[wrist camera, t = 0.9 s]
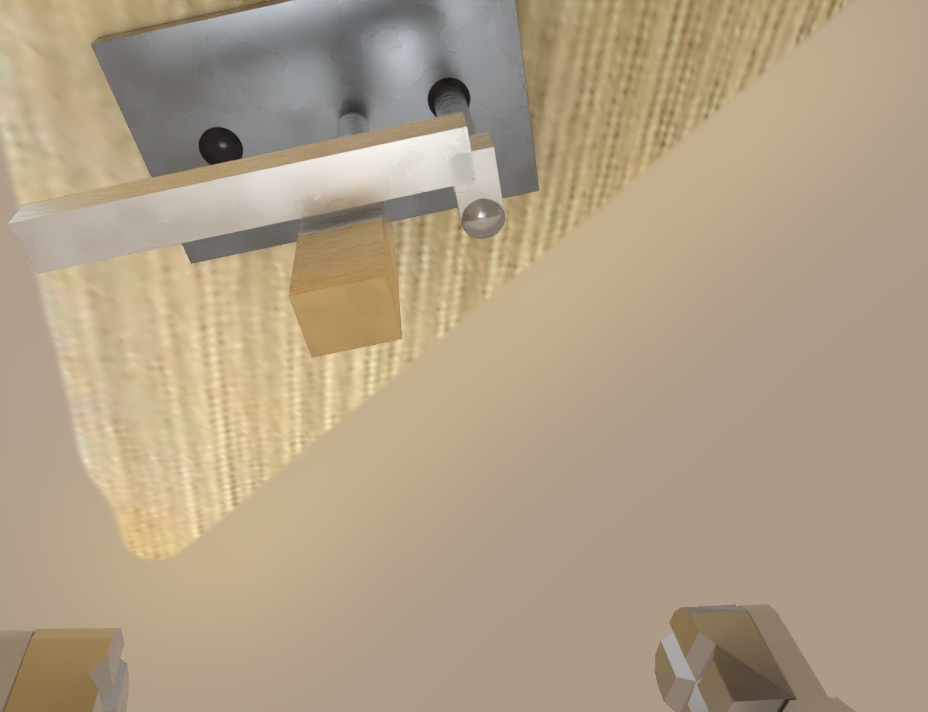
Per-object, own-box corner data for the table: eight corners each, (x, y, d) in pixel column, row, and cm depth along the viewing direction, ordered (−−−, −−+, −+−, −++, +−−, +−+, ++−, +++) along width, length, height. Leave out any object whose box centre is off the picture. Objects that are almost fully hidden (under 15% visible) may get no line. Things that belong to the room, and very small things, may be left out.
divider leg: (376, 94, 37) (384, 276, 23) (388, 140, 39) (402, 339, 24) (317, 106, 37) (288, 296, 23) (331, 152, 39) (311, 357, 24)
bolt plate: (505, -51, 36) (509, -47, 35) (535, 181, 43) (539, 190, 42) (98, 38, 36) (90, 44, 35) (194, 253, 43) (190, 264, 42)
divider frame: (451, 24, 36) (490, 121, 25) (467, 111, 39) (507, 234, 28) (115, 97, 37) (7, 223, 26) (152, 178, 39) (69, 325, 28)
